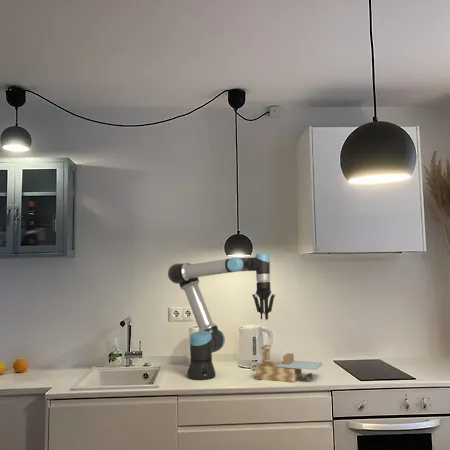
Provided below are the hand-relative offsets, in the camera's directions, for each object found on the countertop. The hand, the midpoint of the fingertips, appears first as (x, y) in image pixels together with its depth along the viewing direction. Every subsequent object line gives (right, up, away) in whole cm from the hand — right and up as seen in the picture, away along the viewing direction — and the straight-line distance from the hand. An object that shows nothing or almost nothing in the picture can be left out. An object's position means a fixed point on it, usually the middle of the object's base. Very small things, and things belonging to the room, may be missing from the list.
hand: (264, 325), depth 242 cm
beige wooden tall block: (+2, -27, +9) cm, 29 cm away
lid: (+17, -17, -14) cm, 28 cm away
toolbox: (+10, -25, -12) cm, 29 cm away
